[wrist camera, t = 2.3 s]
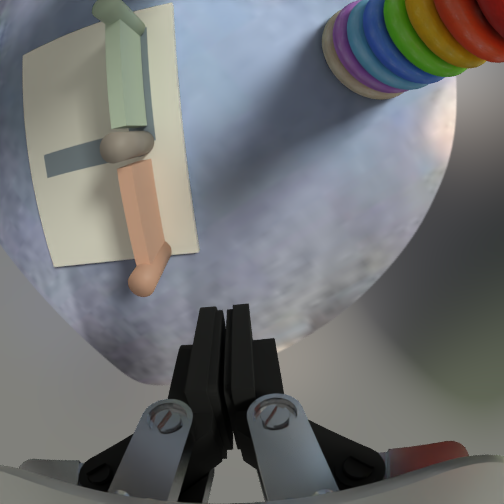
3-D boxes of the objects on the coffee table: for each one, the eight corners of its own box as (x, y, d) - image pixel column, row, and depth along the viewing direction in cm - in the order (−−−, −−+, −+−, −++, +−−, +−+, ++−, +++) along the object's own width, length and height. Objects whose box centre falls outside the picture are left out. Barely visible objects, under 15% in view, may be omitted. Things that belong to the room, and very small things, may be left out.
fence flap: (129, 133, 20) (97, 135, 15) (152, 128, 20) (126, 129, 15) (152, 262, 24) (132, 297, 19) (173, 260, 24) (157, 296, 19)
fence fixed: (122, 23, 16) (92, -1, 11) (144, 17, 16) (119, -10, 11) (129, 129, 20) (97, 130, 15) (152, 124, 20) (125, 123, 15)
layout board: (26, 56, 17) (22, 55, 16) (173, 5, 17) (171, 2, 16) (57, 264, 24) (54, 267, 24) (199, 249, 24) (198, 252, 24)
